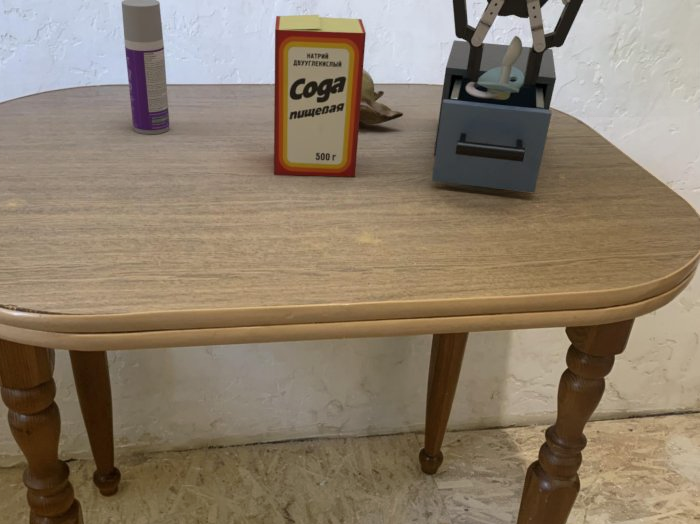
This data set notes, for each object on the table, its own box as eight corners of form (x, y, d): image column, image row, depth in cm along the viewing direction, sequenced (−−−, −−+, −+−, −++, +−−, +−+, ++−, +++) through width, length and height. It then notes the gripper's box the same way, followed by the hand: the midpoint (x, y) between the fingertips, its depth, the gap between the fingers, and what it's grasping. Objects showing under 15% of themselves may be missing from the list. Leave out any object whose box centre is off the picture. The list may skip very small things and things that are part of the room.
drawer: (534, 209, 82) (553, 127, 77) (428, 196, 84) (439, 115, 79) (532, 154, 96) (548, 80, 90) (440, 144, 97) (451, 71, 92)
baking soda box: (351, 156, 95) (361, 15, 86) (354, 176, 90) (366, 29, 80) (275, 154, 95) (276, 12, 85) (273, 174, 90) (275, 25, 80)
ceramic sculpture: (282, 42, 103) (388, 48, 106) (277, 107, 108) (379, 111, 112) (297, 65, 95) (412, 70, 98) (291, 135, 100) (400, 137, 103)
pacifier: (459, 100, 84) (514, 107, 82) (467, 39, 80) (525, 45, 78) (471, 83, 89) (524, 89, 88) (480, 25, 86) (534, 30, 84)
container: (126, 127, 101) (112, 0, 92) (156, 120, 103) (146, -4, 94) (146, 137, 98) (134, 8, 89) (176, 129, 101) (168, 3, 91)
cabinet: (536, 167, 95) (556, 77, 88) (433, 155, 96) (445, 67, 90) (534, 131, 105) (552, 49, 99) (442, 121, 107) (453, 40, 101)
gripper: (456, -100, 73) (432, 86, 83) (613, -90, 71) (569, 100, 81) (460, -107, 79) (438, 68, 89) (606, -98, 76) (565, 80, 87)
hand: (500, 82), depth 85 cm, fingers closed on pacifier, 5 cm apart
